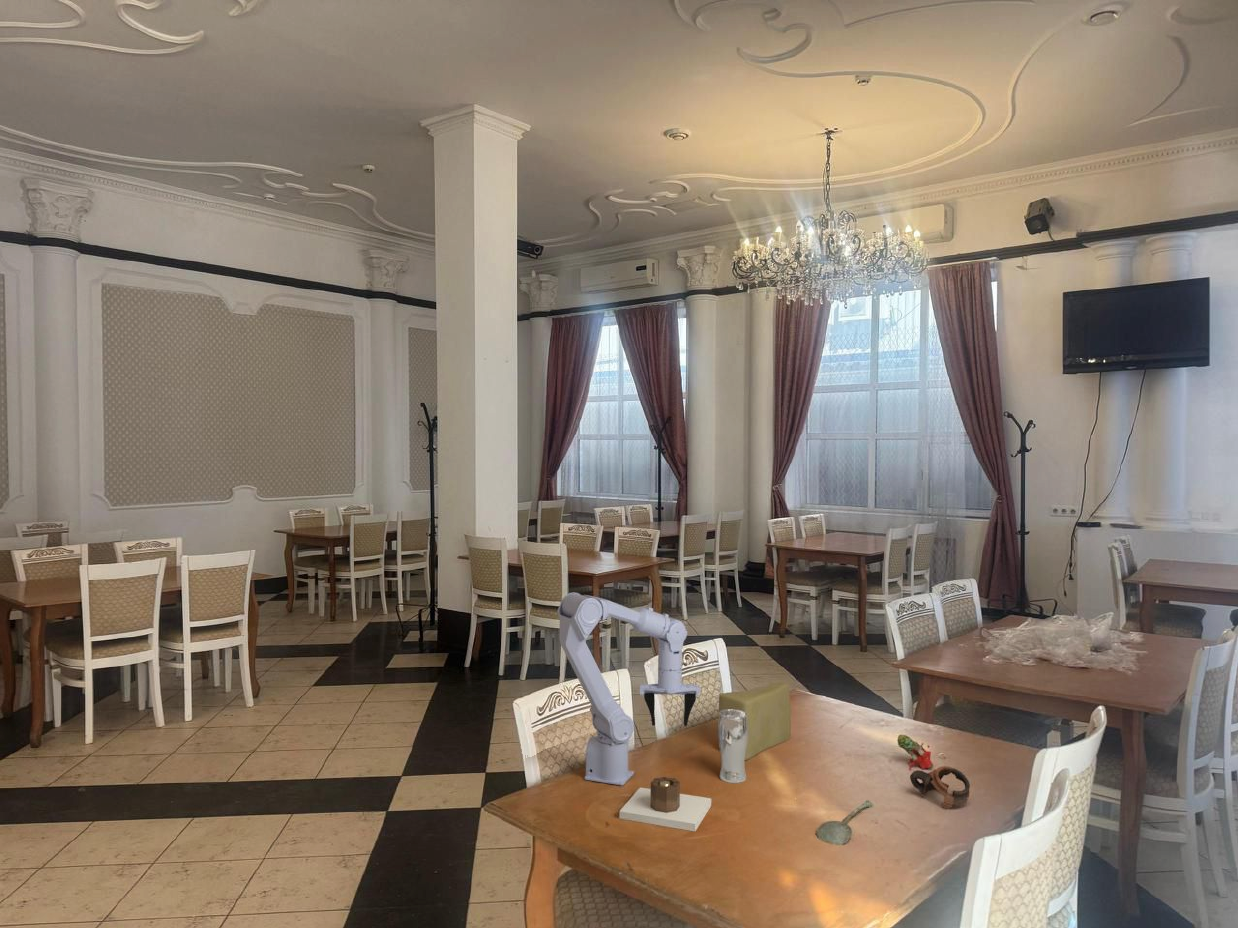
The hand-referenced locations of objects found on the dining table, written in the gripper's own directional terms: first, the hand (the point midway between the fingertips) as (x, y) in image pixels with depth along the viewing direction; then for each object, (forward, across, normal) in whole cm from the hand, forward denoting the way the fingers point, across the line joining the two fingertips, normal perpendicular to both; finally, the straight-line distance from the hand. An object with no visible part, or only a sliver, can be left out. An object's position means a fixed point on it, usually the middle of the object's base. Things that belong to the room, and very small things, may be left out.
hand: (669, 724), depth 195 cm
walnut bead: (+8, -2, -27) cm, 28 cm away
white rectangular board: (+10, -2, -26) cm, 28 cm away
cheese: (+10, +24, +14) cm, 30 cm away
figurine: (+10, +60, 0) cm, 61 cm away
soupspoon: (+11, +35, -30) cm, 47 cm away
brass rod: (+10, -2, -27) cm, 29 cm away
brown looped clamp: (+10, +58, -18) cm, 61 cm away
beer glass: (+10, +14, -7) cm, 19 cm away
